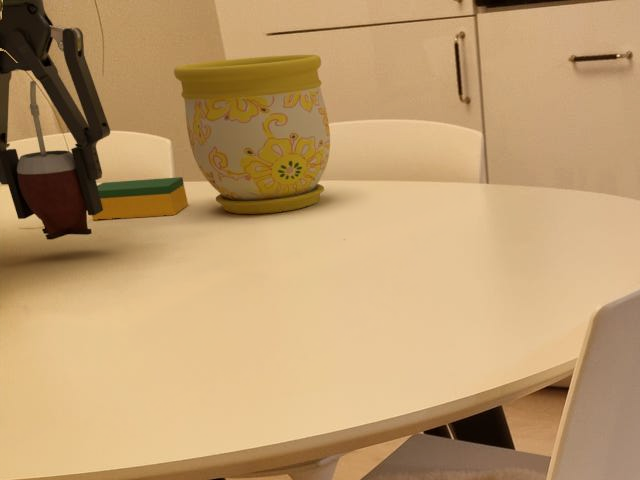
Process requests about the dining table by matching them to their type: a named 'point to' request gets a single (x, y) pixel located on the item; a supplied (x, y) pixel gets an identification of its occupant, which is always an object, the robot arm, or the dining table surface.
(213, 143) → the flowerpot
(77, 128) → the robot arm
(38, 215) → the mate gourd
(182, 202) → the sponge
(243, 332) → the dining table surface
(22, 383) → the dining table surface
